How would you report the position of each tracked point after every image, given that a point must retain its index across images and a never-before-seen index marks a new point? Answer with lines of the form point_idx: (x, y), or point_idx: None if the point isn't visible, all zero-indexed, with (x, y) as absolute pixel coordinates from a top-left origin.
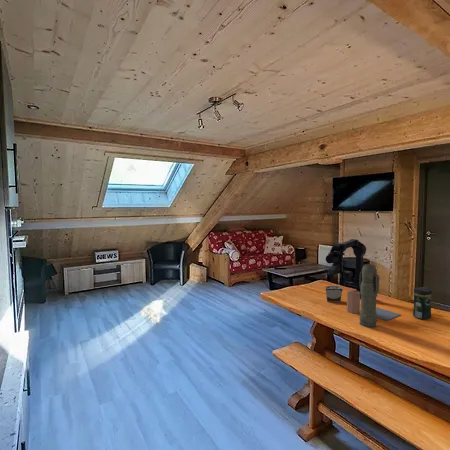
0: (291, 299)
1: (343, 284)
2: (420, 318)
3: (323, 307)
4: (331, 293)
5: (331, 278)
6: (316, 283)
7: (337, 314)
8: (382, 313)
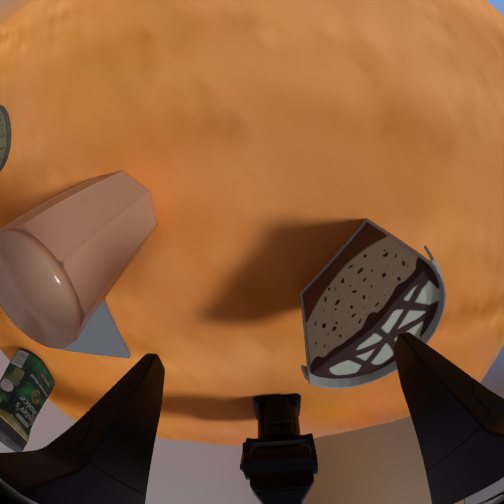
0: (498, 74)
1: (136, 371)
2: (20, 349)
3: (292, 77)
4: (370, 280)
5: (440, 397)
6: (485, 366)
7: (124, 66)
8: None
